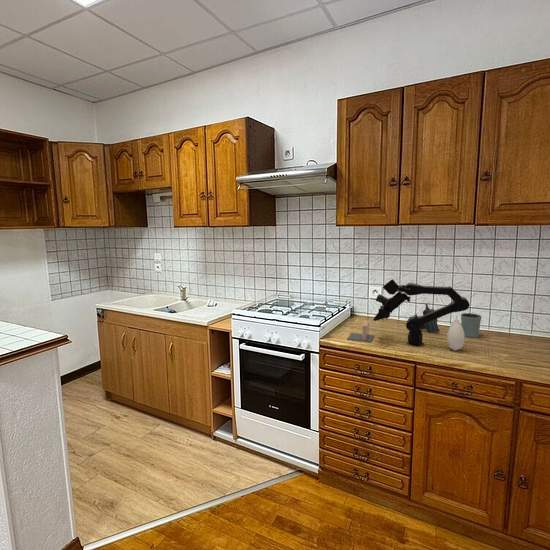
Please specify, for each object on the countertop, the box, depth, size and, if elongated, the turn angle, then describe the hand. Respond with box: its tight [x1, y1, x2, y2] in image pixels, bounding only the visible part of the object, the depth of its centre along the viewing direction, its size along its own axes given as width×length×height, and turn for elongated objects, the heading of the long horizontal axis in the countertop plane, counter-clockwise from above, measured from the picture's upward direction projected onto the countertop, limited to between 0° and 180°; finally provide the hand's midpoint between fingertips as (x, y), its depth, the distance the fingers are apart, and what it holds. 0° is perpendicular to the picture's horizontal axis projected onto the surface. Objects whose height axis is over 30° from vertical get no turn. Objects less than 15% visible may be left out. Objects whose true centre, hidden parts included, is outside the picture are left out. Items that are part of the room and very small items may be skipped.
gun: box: [421, 303, 441, 333], centre depth 207 cm, size 3×17×15 cm
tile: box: [361, 320, 370, 340], centre depth 195 cm, size 2×10×8 cm, turn 157°
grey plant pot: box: [460, 312, 482, 339], centre depth 197 cm, size 10×10×12 cm
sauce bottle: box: [446, 315, 465, 351], centre depth 174 cm, size 8×8×18 cm
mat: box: [347, 332, 375, 344], centre depth 196 cm, size 13×12×1 cm
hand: (374, 319), depth 192 cm, fingers open, 5 cm apart
